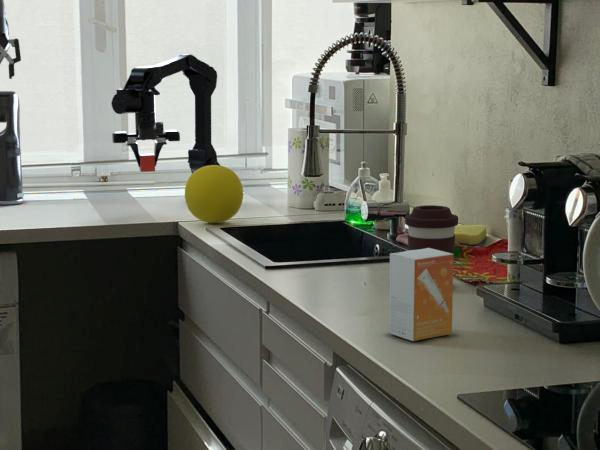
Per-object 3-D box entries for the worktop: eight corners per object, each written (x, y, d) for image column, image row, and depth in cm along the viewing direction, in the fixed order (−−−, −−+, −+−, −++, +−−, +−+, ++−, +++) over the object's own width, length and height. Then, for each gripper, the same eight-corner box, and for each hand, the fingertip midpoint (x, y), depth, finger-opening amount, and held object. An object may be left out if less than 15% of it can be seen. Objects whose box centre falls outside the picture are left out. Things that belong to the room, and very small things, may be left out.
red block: (141, 171, 296) (140, 155, 295) (139, 170, 300) (138, 153, 300) (155, 171, 297) (154, 155, 296) (153, 169, 301) (153, 153, 301)
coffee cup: (400, 280, 202) (400, 204, 200) (450, 279, 203) (451, 203, 201) (409, 292, 193) (410, 212, 190) (462, 291, 193) (463, 211, 191)
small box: (413, 342, 160) (414, 259, 158) (387, 333, 165) (388, 252, 163) (453, 334, 164) (454, 253, 162) (427, 325, 170) (428, 246, 168)
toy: (233, 216, 283) (232, 161, 280) (250, 224, 269) (249, 166, 266) (179, 219, 278) (177, 163, 275) (194, 228, 264) (192, 169, 261)
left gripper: (-40, 15, 266) (-36, 79, 268) (18, 15, 269) (21, 78, 272) (-38, 16, 273) (-34, 79, 276) (18, 16, 276) (22, 78, 279)
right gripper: (113, 114, 286) (115, 171, 289) (181, 112, 290) (183, 168, 293) (111, 112, 297) (113, 166, 299) (176, 110, 301) (178, 164, 304)
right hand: (147, 166), depth 299 cm, fingers closed on red block, 4 cm apart
